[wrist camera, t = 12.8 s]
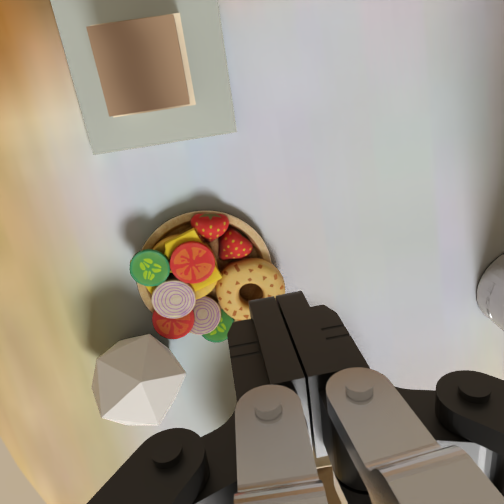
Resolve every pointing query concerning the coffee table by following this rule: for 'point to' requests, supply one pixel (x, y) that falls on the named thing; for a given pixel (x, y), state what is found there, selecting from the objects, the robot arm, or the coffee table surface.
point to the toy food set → (203, 274)
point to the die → (137, 381)
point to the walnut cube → (139, 64)
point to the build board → (157, 122)
